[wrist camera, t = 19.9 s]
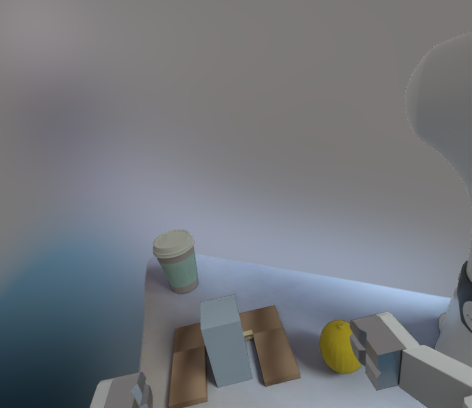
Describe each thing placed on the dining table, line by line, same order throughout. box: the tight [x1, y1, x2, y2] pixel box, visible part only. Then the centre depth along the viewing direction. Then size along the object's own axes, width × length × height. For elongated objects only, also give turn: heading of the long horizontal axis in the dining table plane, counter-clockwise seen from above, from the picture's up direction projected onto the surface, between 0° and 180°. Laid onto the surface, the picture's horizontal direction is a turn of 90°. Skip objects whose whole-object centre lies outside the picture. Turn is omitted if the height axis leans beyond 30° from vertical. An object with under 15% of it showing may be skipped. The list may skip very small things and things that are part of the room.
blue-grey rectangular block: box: [200, 294, 252, 388], centre depth 38 cm, size 5×5×11 cm
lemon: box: [320, 320, 361, 374], centre depth 36 cm, size 6×6×8 cm
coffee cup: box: [153, 230, 198, 294], centre depth 58 cm, size 9×9×12 cm
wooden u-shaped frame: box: [169, 305, 301, 408], centre depth 43 cm, size 18×13×1 cm
